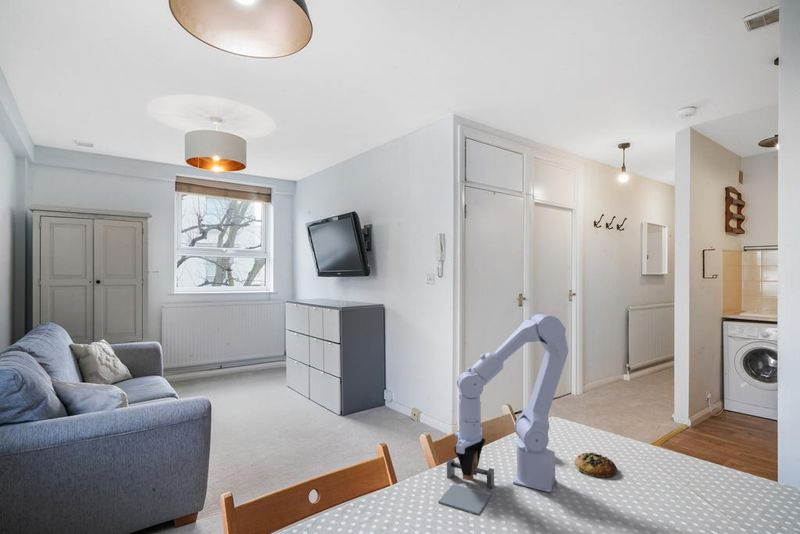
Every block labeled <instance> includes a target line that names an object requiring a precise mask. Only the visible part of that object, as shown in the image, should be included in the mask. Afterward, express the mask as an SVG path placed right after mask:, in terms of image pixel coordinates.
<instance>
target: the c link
mask: <svg viewBox="0 0 800 534" xmlns="http://www.w3.org/2000/svg"><path fill="white" fill-rule="evenodd" d="M477 463H478V461H477V452H476V454H475V456H474V460H473V466H472V473H471V476H467V475H463V474H462V480H465V481H470V482H472V481H473V480H474V476H477V474H479V473H475V472H473V467H476V468H479V464H478V465H477Z"/></svg>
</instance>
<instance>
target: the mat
mask: <svg viewBox="0 0 800 534" xmlns="http://www.w3.org/2000/svg"><path fill="white" fill-rule="evenodd" d="M491 496H492V494H490V493H486V492H483V491H479V490H475V489H471V488H468V487H464V486H461V485H457V484H455V483H452V485H451V486H450V487H449V488H448V489H447V490H446V492H445V493H444V494H443V495H442V496H441V498H440V499H439V500H438V504H440V505H445V506H447V507H451V508H453V509H457V510H460V511H464V512H466V513H467V512H468V513H470V514H474V515H477V516H479V515H480V514H481V512H482V510H483V509H484V507H485V506H486V504H487V503H488V501H489V499H490V498H491Z"/></svg>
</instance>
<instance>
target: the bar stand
mask: <svg viewBox="0 0 800 534" xmlns="http://www.w3.org/2000/svg"><path fill="white" fill-rule="evenodd" d="M456 468H457V469H459V470H461V466H460V462H456V461H455V459H453V458H449V460H447V462H446V478H449V479H452V478H453V477H454V476H455V474H456V473H455V472H456V470H455V469H456ZM473 472H475V473H478V474H479V475H484V476H486V489H489V490H492V489H493V487H494V485H495V469H494V468H488V469H487V470H486V469H483V468H479V467H478V468H476V467H473Z"/></svg>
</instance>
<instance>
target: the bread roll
mask: <svg viewBox="0 0 800 534" xmlns="http://www.w3.org/2000/svg"><path fill="white" fill-rule="evenodd" d="M574 465H575V467H576V468H577V469H578V470H579V471H580V472H581V473H582V472H583V473H582V474H584V473H585V474H584V475H586V474H588V475H587V476H590V475H591V476H590V477H594V476H597V478H602V477H606V478H610V477H611V476H612V477H614V476H615V475H616V474H617V473H618V472H617V471H618V467H617V466H616V464H615V462H614V461H612V459H610V458H608V457H607V456H603V455H602V454H598V453H596V452H582V453H580V454H578V455H577V456H576V457H575V459H574ZM615 473H616V474H615ZM613 475H614V476H613ZM612 477H611V478H612Z"/></svg>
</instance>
